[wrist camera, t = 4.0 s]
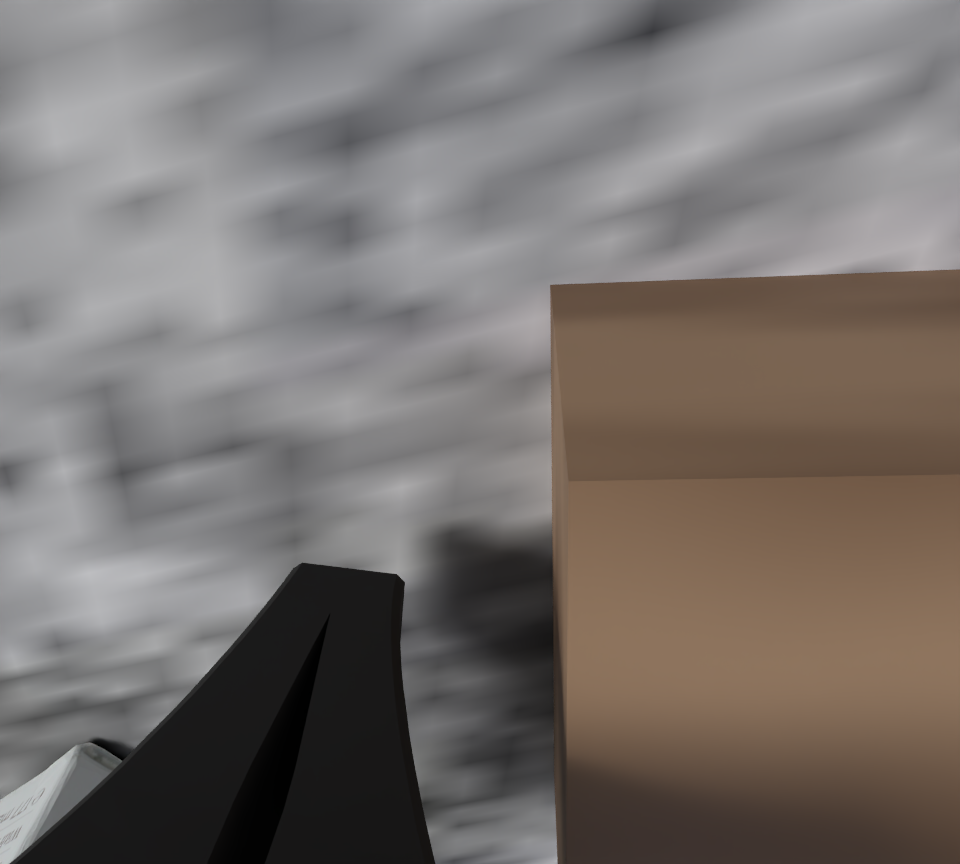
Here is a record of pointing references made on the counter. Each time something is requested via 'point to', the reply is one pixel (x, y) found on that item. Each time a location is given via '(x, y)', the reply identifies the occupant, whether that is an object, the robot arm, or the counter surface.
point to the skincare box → (50, 797)
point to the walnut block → (757, 569)
